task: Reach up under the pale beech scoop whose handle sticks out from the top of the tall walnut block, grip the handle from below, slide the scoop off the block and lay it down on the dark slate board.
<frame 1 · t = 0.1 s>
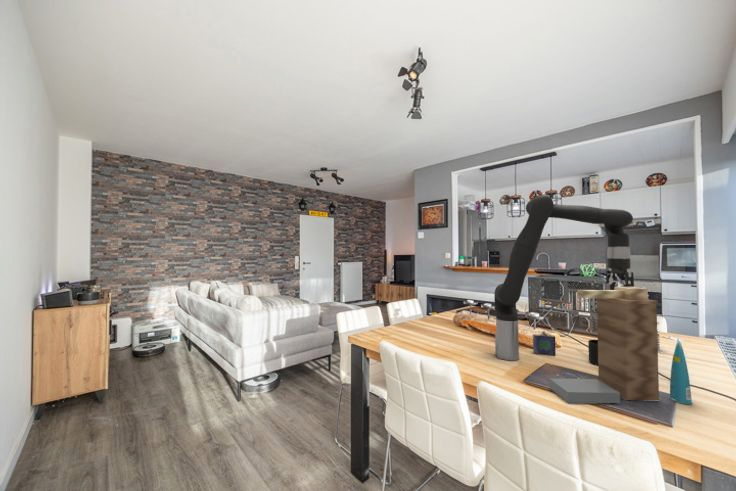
hand: (619, 295, 125), 29 cm above the table, tool pointing down, fingers open, 8 cm apart
french press: (649, 351, 143), on the table
stand: (627, 392, 100), on the table
board: (583, 396, 97), on the table
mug: (605, 364, 125), on the table
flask: (544, 354, 138), on the table
tube: (680, 401, 94), on the table
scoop: (603, 297, 101), point 32 cm above the table, touching stand
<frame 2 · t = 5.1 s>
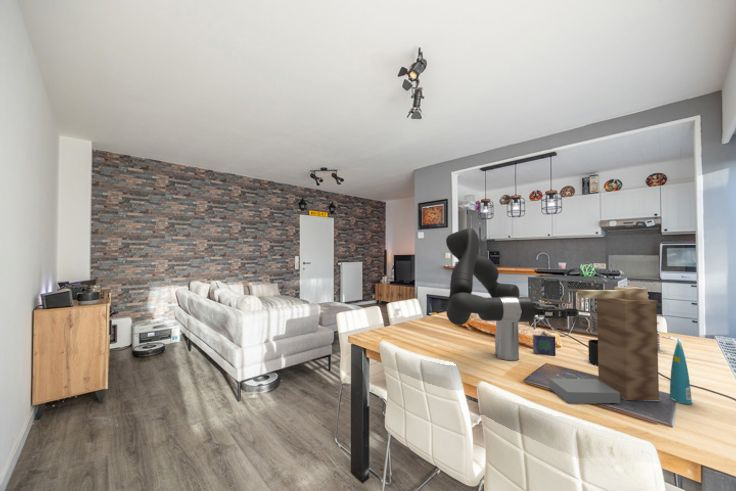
hand: (567, 309, 89), 30 cm above the table, tool horizontal, fingers open, 8 cm apart
nothing on the table moved.
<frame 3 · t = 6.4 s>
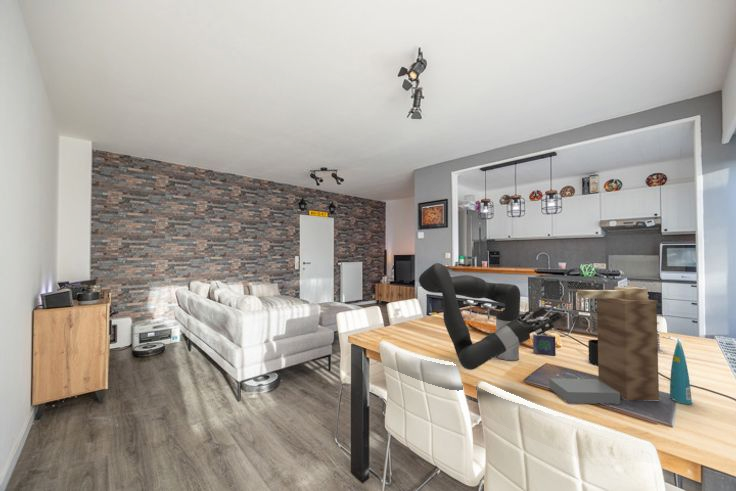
hand: (551, 312, 101), 27 cm above the table, tool pointing upward, fingers open, 8 cm apart
nothing on the table moved.
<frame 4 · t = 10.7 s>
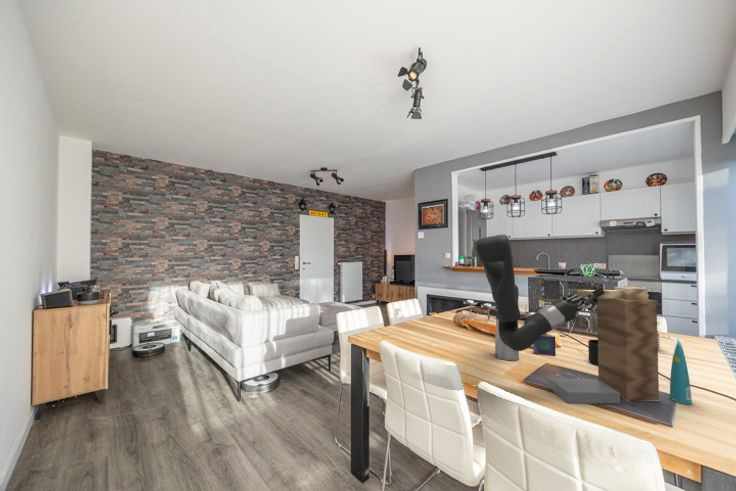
hand: (599, 289, 101), 35 cm above the table, tool pointing upward, fingers closed on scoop, 2 cm apart
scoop: (603, 297, 101), point 32 cm above the table, touching gripper, stand
everything else where it was.
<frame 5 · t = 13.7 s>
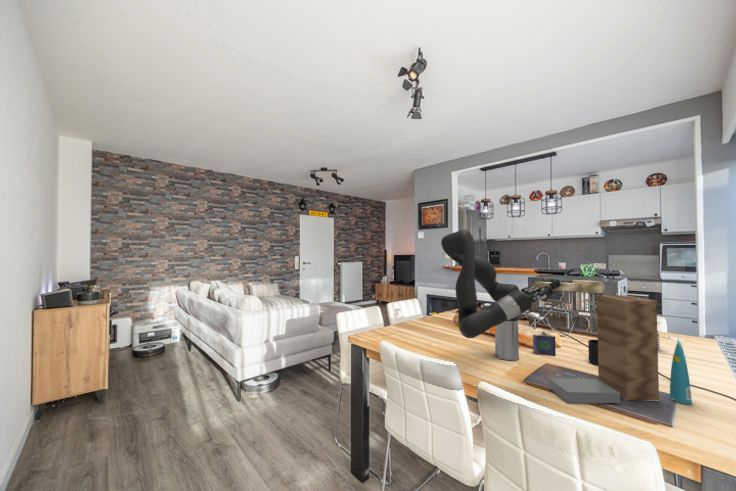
hand: (556, 282, 101), 37 cm above the table, tool pointing upward, fingers closed on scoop, 2 cm apart
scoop: (560, 290, 101), point 35 cm above the table, touching gripper
everything else where it was.
when the fingers open (13 cm above the table, at t = 17.0 s): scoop drops 6 cm, resting on board.
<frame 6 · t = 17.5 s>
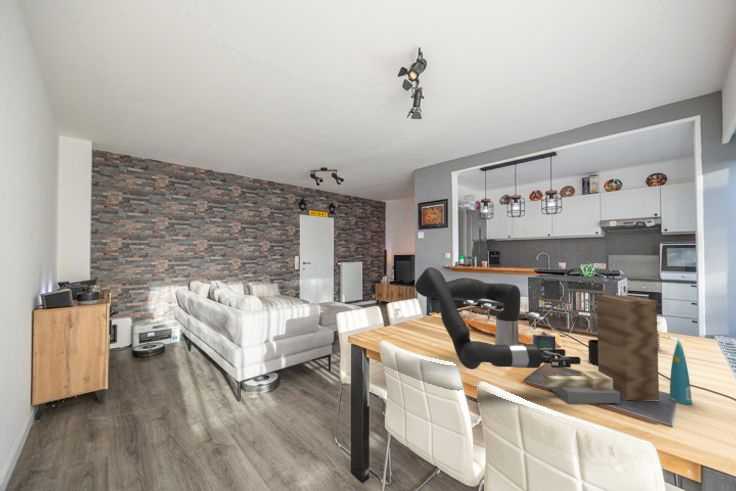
hand: (571, 356, 98), 13 cm above the table, tool horizontal, fingers open, 7 cm apart
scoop: (568, 385, 97), point 3 cm above the table, touching board
everything else where it was.
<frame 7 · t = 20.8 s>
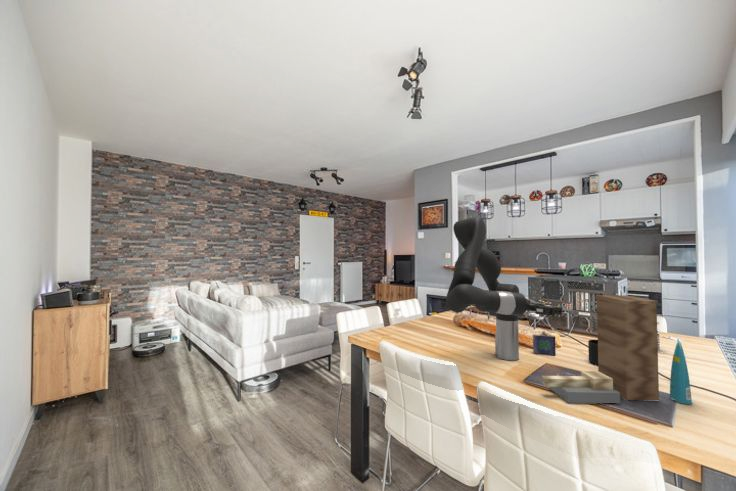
hand: (551, 307, 99), 29 cm above the table, tool horizontal, fingers open, 8 cm apart
nothing on the table moved.
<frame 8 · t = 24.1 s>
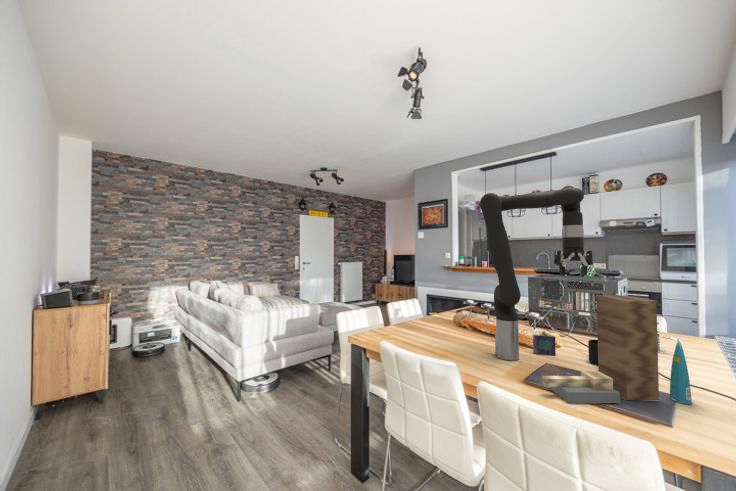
hand: (573, 275, 122), 38 cm above the table, tool pointing down, fingers open, 8 cm apart
nothing on the table moved.
at the end: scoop inside the target area on the board (4.6 cm from its centre), point 3.5 cm above the board's base; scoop point 3.5 cm above the table; the gripper is holding nothing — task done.
